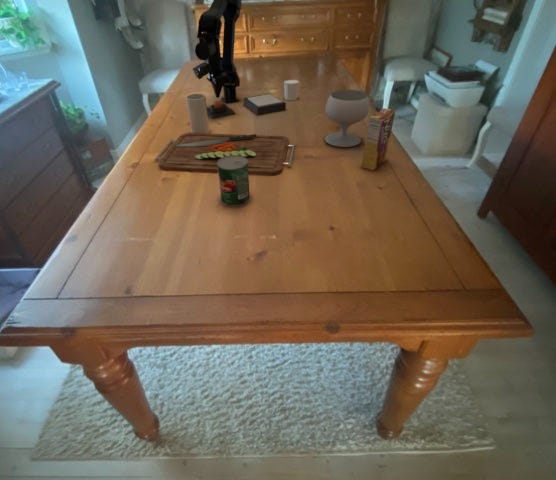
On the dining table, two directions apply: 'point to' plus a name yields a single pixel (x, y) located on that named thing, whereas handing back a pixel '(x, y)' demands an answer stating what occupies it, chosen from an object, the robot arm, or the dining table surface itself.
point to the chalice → (346, 115)
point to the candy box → (377, 138)
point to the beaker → (198, 113)
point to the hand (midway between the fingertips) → (217, 97)
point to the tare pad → (219, 111)
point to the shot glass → (291, 89)
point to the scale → (264, 104)
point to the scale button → (218, 104)
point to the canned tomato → (233, 180)
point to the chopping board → (226, 152)
